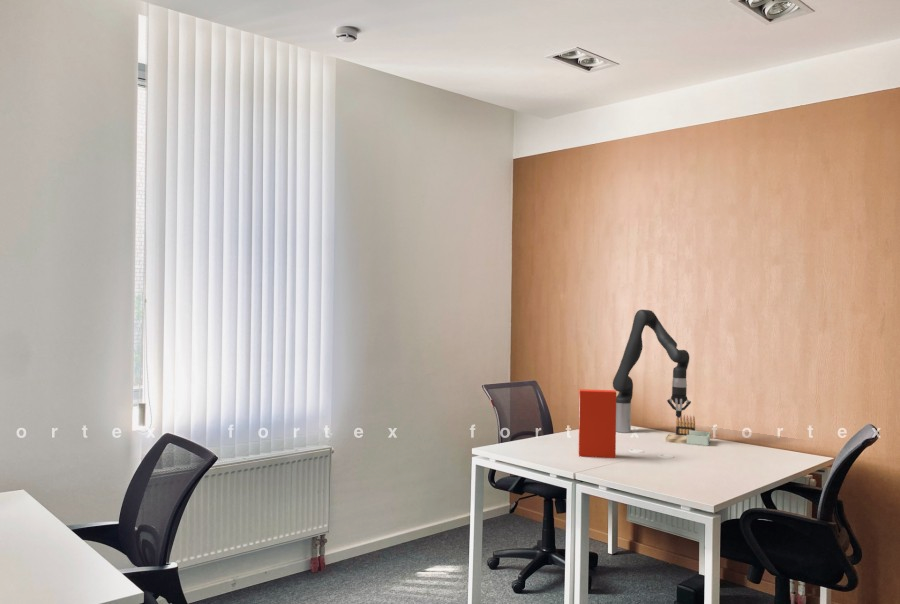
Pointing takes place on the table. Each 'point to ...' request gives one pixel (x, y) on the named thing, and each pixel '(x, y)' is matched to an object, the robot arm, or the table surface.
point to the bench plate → (676, 438)
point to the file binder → (597, 423)
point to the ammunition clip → (685, 425)
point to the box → (698, 438)
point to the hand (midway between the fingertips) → (678, 417)
